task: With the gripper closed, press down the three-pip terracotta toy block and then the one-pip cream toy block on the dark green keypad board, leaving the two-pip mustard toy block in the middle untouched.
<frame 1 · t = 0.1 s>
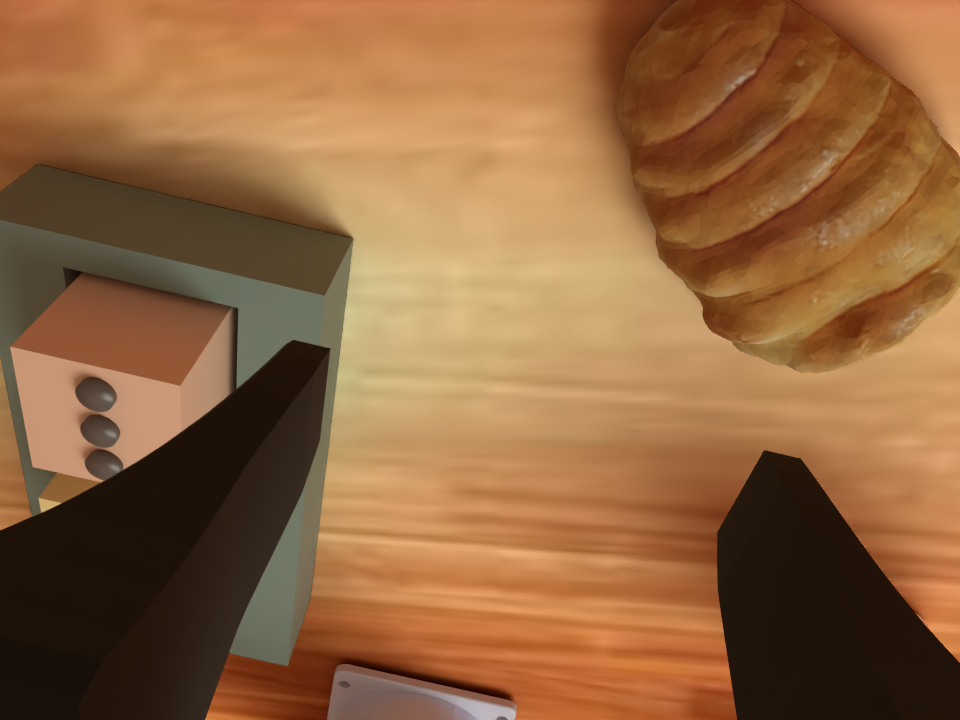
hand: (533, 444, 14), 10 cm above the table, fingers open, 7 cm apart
pastry: (773, 177, 21), on the table
toy block 3: (140, 375, 22), point 4 cm above the table, slide at 0.0 cm
toy block 2: (149, 505, 25), point 4 cm above the table, slide at 0.0 cm
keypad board: (198, 422, 28), on the table
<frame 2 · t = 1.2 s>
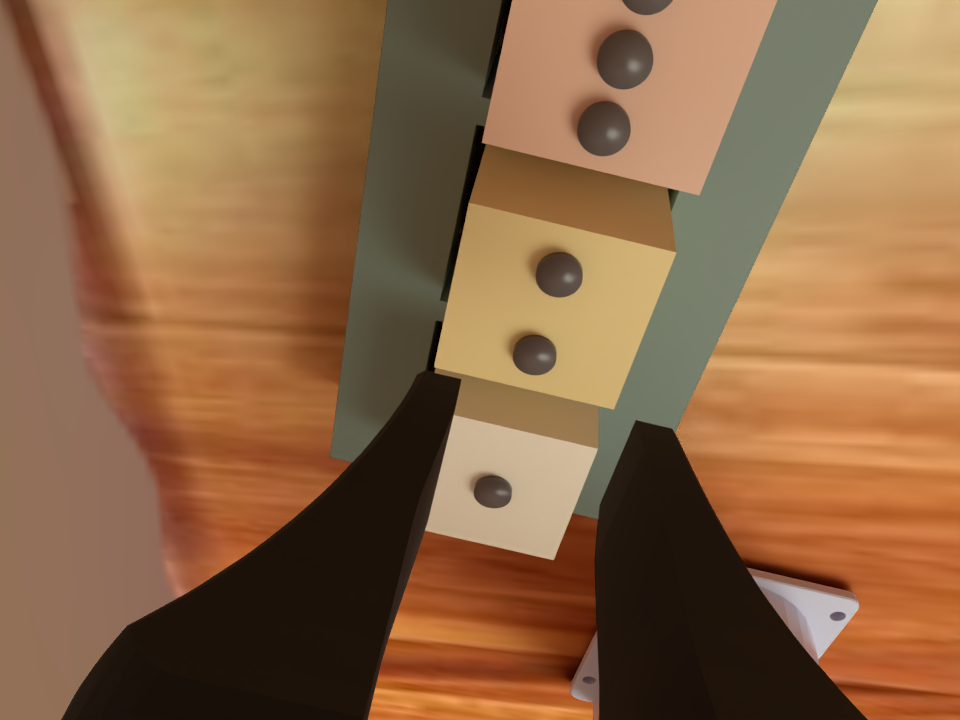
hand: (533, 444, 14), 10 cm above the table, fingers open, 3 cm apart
toy block 3: (622, 22, 15), point 4 cm above the table, slide at 0.0 cm
toy block 2: (552, 260, 19), point 4 cm above the table, slide at 0.0 cm
toy block 1: (502, 429, 22), point 4 cm above the table, slide at 0.0 cm
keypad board: (559, 186, 22), on the table
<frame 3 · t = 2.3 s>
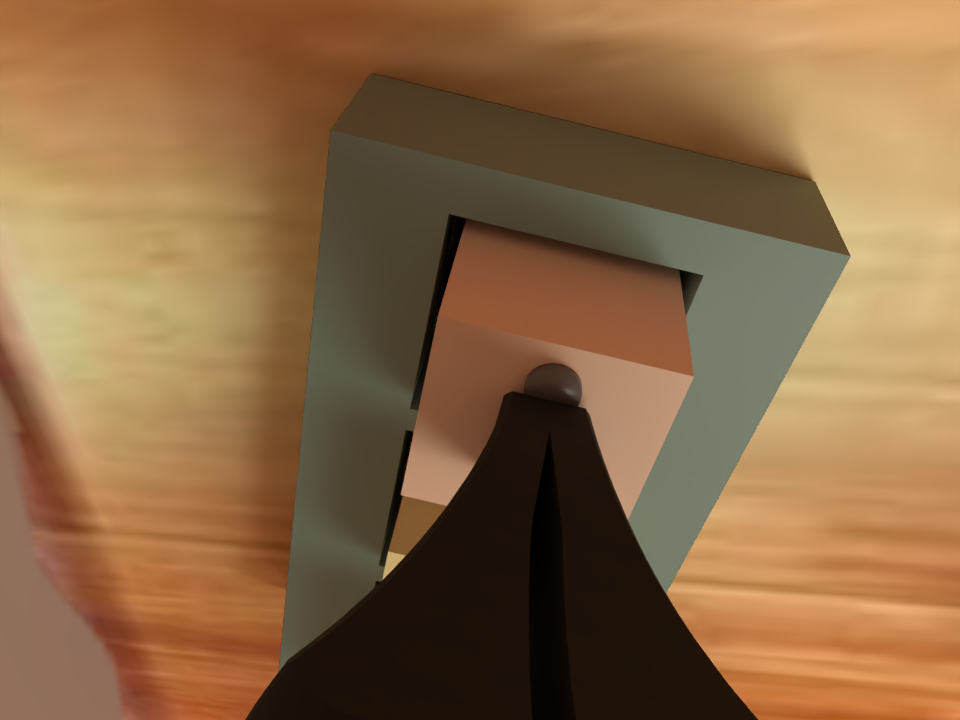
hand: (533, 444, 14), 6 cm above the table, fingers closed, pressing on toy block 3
toy block 3: (542, 363, 16), point 4 cm above the table, slide at 0.3 cm, touching gripper
toy block 2: (484, 554, 18), point 4 cm above the table, slide at 0.0 cm
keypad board: (502, 438, 22), on the table
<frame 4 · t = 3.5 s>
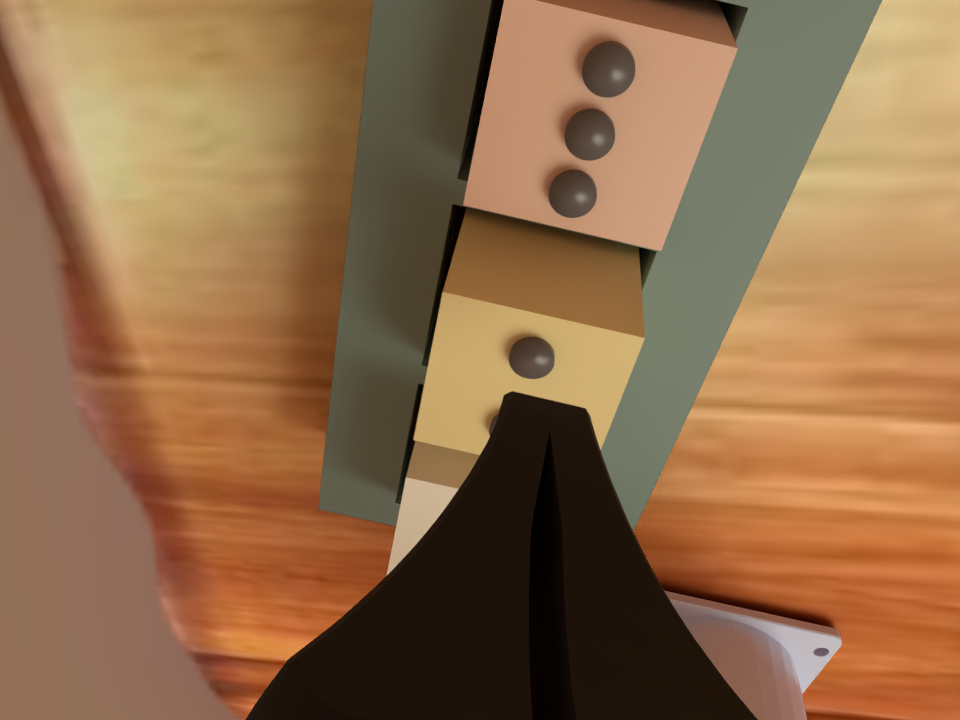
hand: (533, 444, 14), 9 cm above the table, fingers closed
toy block 3: (591, 92, 17), point 3 cm above the table, slide at 1.3 cm
toy block 2: (528, 333, 19), point 4 cm above the table, slide at 0.0 cm
toy block 1: (484, 487, 22), point 4 cm above the table, slide at 0.0 cm
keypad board: (538, 249, 22), on the table
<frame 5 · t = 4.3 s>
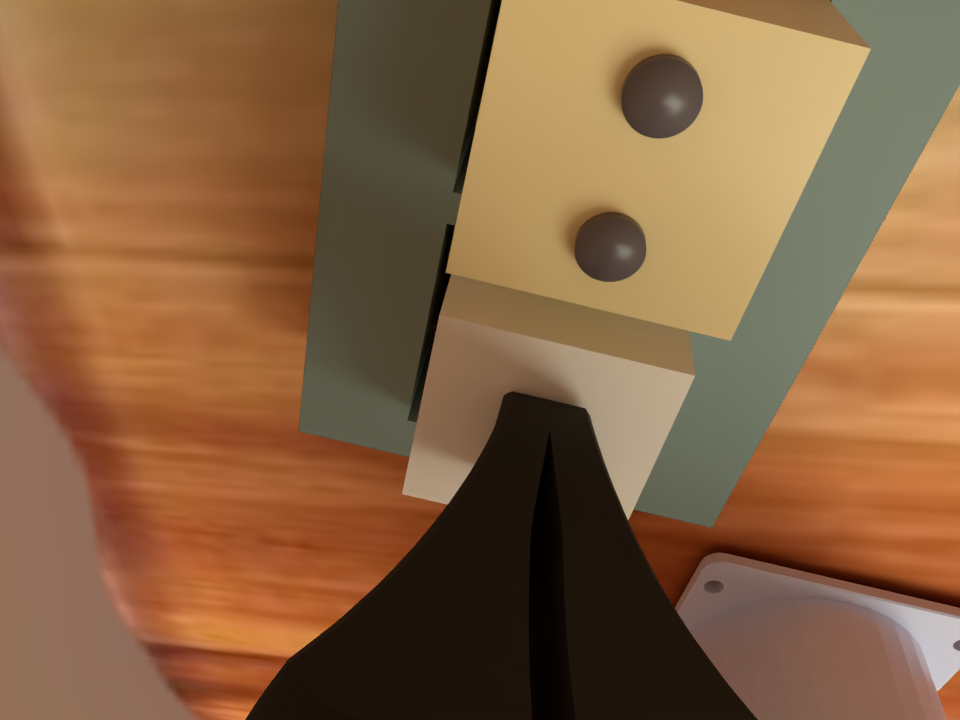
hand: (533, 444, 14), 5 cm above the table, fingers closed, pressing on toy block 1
toy block 2: (630, 111, 12), point 4 cm above the table, slide at 0.0 cm
toy block 1: (544, 363, 16), point 3 cm above the table, slide at 0.7 cm, touching gripper
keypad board: (625, 35, 15), on the table
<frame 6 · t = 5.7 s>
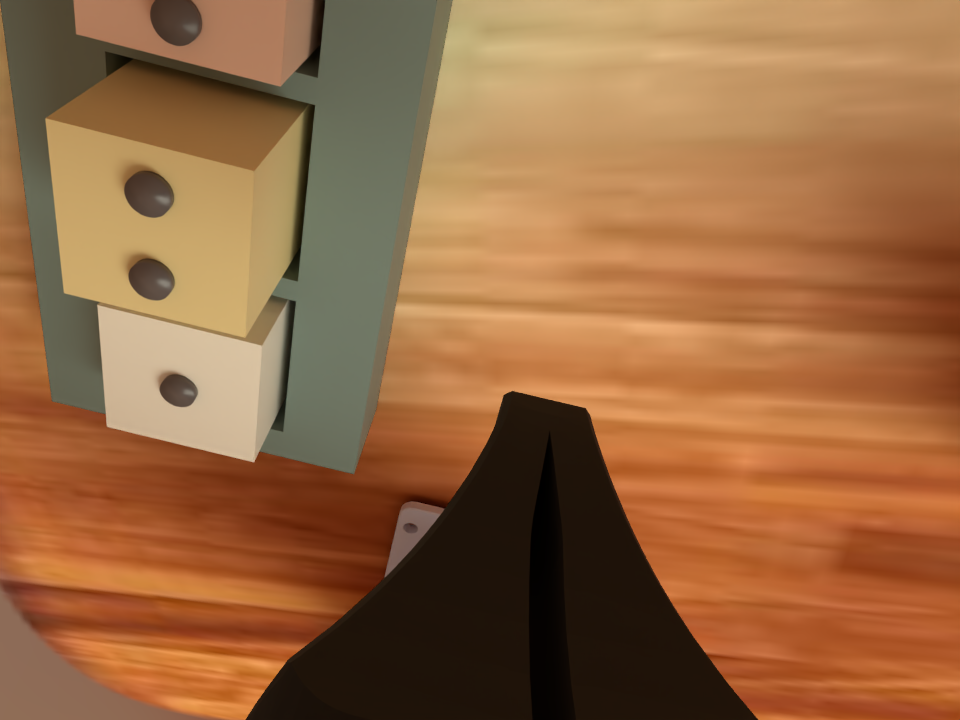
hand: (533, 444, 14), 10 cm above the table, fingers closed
toy block 2: (194, 190, 19), point 4 cm above the table, slide at 0.0 cm
toy block 1: (212, 339, 23), point 3 cm above the table, slide at 1.3 cm
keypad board: (252, 127, 22), on the table
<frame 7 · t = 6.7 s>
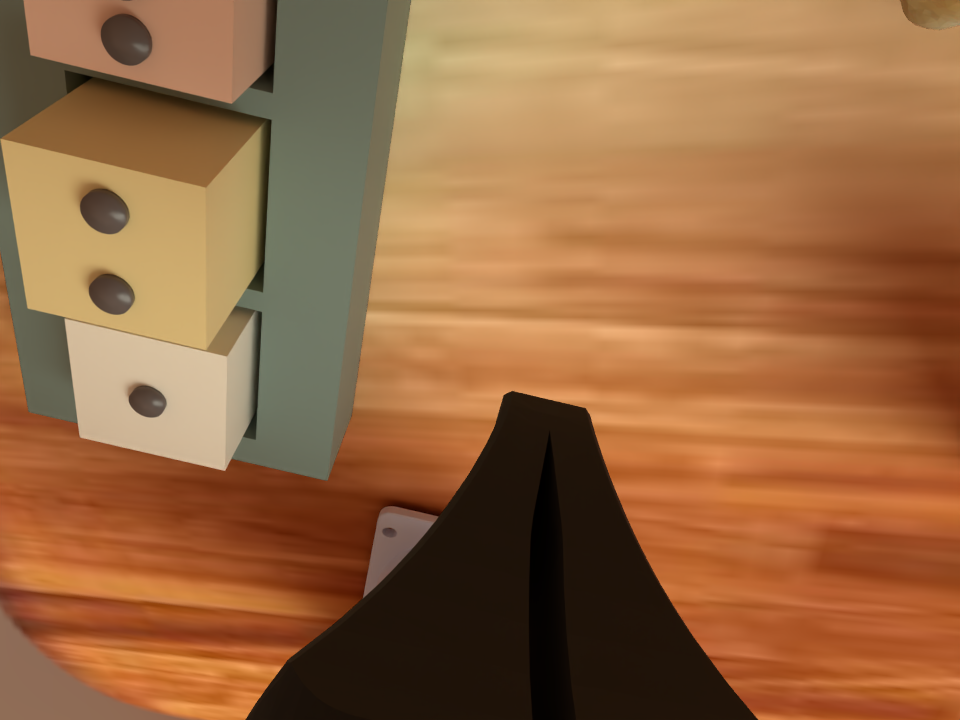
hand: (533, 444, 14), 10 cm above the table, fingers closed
toy block 2: (155, 205, 19), point 4 cm above the table, slide at 0.0 cm
toy block 1: (183, 350, 23), point 3 cm above the table, slide at 1.3 cm
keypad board: (218, 140, 22), on the table
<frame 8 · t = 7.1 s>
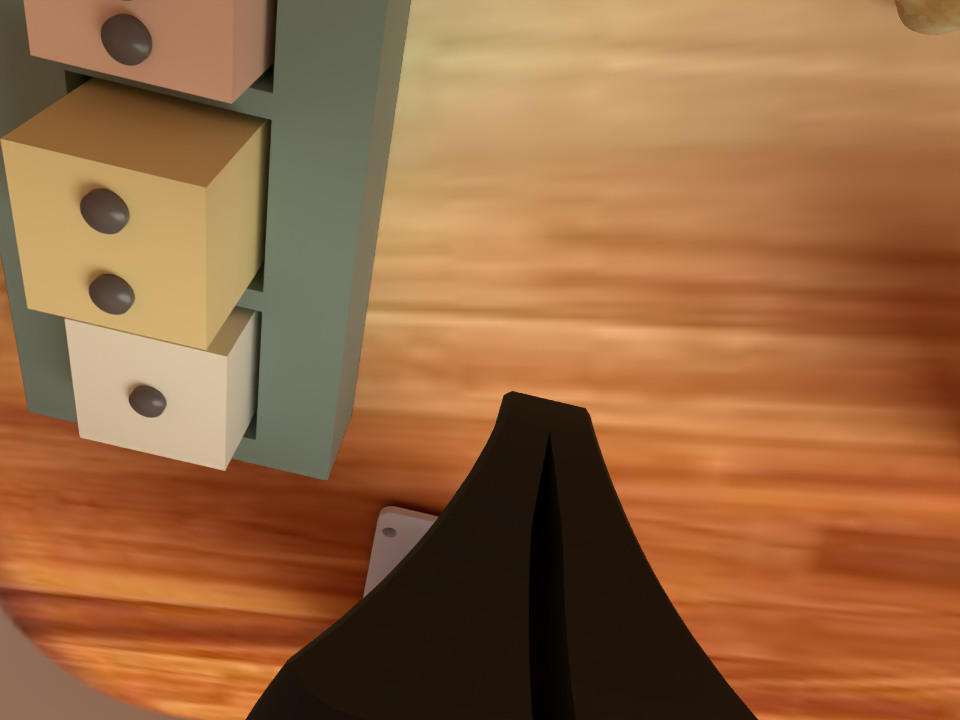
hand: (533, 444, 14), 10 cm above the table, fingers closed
toy block 2: (155, 205, 19), point 4 cm above the table, slide at 0.0 cm
toy block 1: (183, 350, 23), point 3 cm above the table, slide at 1.3 cm
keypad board: (218, 140, 22), on the table
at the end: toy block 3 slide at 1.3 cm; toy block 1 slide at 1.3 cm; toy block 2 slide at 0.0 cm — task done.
